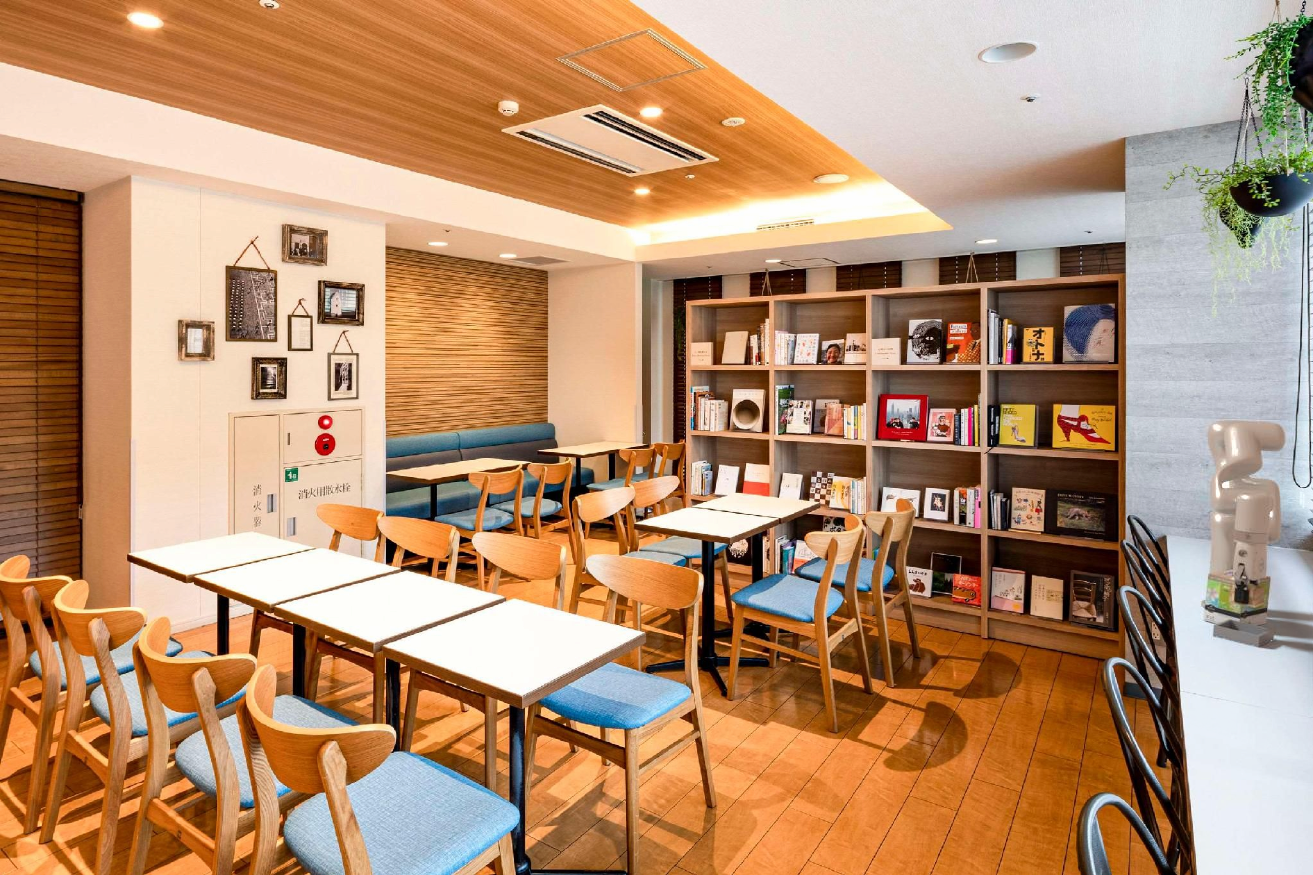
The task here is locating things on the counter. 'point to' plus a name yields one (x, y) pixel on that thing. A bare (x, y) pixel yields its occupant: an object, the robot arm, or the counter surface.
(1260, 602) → the oak crate
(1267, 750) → the counter surface
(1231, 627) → the grey square tray
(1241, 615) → the tea box
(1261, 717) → the counter surface
